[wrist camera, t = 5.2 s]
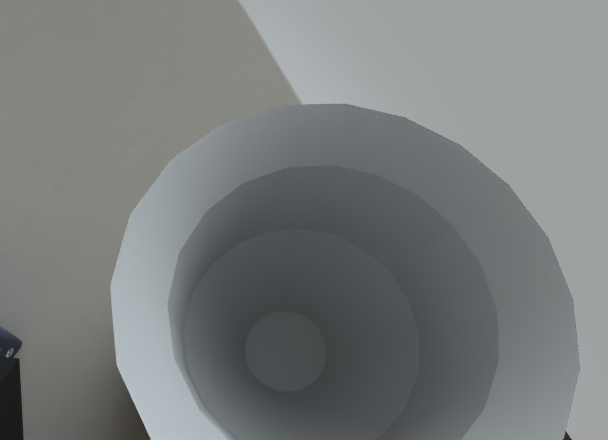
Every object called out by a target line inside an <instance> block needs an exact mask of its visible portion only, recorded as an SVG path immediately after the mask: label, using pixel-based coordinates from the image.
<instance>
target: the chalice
mask: <svg viewBox="0 0 608 440" xmlns="http://www.w3.org/2000/svg"><path fill="white" fill-rule="evenodd" d="M110 291H111V303H112V315H113V327H114V339H115V351H116V363H117V367H118V369H119V371H120V374H121V376H122V378H123V380H124V382H125V384H126V387H127V389H128V391H129V393H130V395H131V397H132V400H133V402H134V404H135V406H136V408H137V410H138V413H139V415H140V417H141V419H142V421H143V423H144V426H145V428H146V430H147V432H148V434H149V436H150V439H151V440H563V438H564V435H565V431H566V427H567V422H568V418H569V414H570V409H571V405H572V401H573V396H574V392H575V388H576V383H577V379H578V375H579V370H580V364H579V354H578V345H577V333H576V323H575V313H574V304H573V298H572V295H571V293H570V291H569V288H568V286H567V283H566V281H565V278H564V276H563V273H562V271H561V269H560V266H559V263H558V261H557V258H556V256H555V253H554V251H553V249H552V246H551V244H550V241H549V239H548V237H547V236H546V234H545V233H544V232H543V230H542V229H541V227H540V226H539V225H538V223H537V222H536V221H535V219H534V218H533V217H532V215H531V214H530V213H529V211H528V210H527V209H526V207H525V206H524V205H523V203H522V202H521V201H520V200H519V198H518V197H517V195H516V194H515V193H514V192H513V190H512V189H511V187H510V186H509V185H508V184H507V183H506V182H504V181H503V180H502V179H501V178H500V177H498V176H497V175H496V174H495V173H493V172H492V171H491V170H490V169H489V168H487V167H486V166H485V165H484V164H483V163H481V162H480V161H479V160H478V159H477V158H475V157H474V156H473V155H472V154H471V153H469V152H468V151H467V150H466V149H464V148H463V147H462V146H461V145H459V144H457V143H455V142H453V141H451V140H449V139H447V138H445V137H443V136H441V135H439V134H437V133H435V132H433V131H431V130H429V129H427V128H425V127H423V126H421V125H419V124H417V123H415V122H413V121H411V120H409V119H407V118H405V117H400V116H396V115H392V114H387V113H383V112H379V111H374V110H370V109H366V108H361V107H357V106H353V105H348V104H311V105H310V104H308V105H282V106H279V107H276V108H272V109H269V110H266V111H262V112H259V113H256V114H252V115H249V116H246V117H243V118H239V119H236V120H233V121H229V122H226V123H224V124H222V125H221V126H219V127H218V128H216V129H215V130H213V131H212V132H210V133H209V134H207V135H206V136H205V137H203V138H202V139H200V140H199V141H197V142H196V143H194V144H193V145H191V146H190V147H188V148H187V149H185V150H184V151H183V152H181V153H180V154H178V155H177V156H175V157H174V158H172V159H171V160H170V161H169V163H168V164H167V165H166V167H165V168H164V169H163V171H162V172H161V174H160V175H159V176H158V178H157V179H156V180H155V182H154V183H153V184H152V186H151V187H150V188H149V190H148V191H147V193H146V194H145V195H144V197H143V198H142V199H141V201H140V202H139V203H138V205H137V206H136V207H135V209H134V210H133V212H132V213H131V214H130V217H129V221H128V224H127V228H126V231H125V235H124V238H123V242H122V245H121V249H120V252H119V256H118V259H117V263H116V266H115V270H114V273H113V277H112V281H111V284H110Z"/></svg>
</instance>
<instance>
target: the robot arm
mask: <svg viewBox="0 0 608 440" xmlns="http://www.w3.org/2000/svg"><path fill="white" fill-rule="evenodd" d="M0 440H24V438H23V420H22V401H21V383H20V364H19V359H18V358H10V357H1V356H0ZM563 440H572V439H571V438H570V437H569V435H568V434H567V432H566V431H565V435H564V438H563Z"/></svg>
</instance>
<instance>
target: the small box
mask: <svg viewBox="0 0 608 440" xmlns="http://www.w3.org/2000/svg"><path fill="white" fill-rule="evenodd" d="M21 345H22V342H21V341H20V340H19V339H18V338H17V337H15V336H14V335H12V334H11V333H9V332H8V331H6V330H5V329H3V328H2V327H0V356H1V357H10V358H13V356H14V355H15V353H16V352H17V351H18V350H19V348H20V347H21Z"/></svg>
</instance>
